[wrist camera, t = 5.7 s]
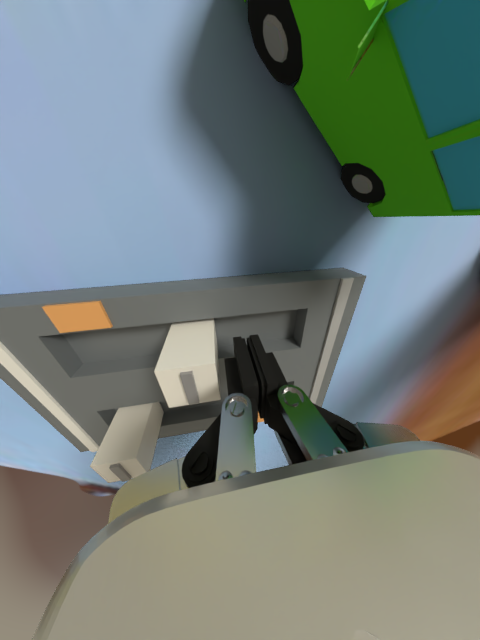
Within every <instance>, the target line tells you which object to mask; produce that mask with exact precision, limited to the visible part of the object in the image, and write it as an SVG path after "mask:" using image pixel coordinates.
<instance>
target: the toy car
mask: <svg viewBox="0 0 480 640" xmlns="http://www.w3.org/2000/svg"><path fill="white" fill-rule="evenodd" d="M244 2H246V0H244ZM248 22H249V26H250V29H251V33H252V37H253V41H254V45H255V48H256V50H257V52H258V54H259V56H260V58H261V59H262V61H263V63H264V64H265V66H266V67H267V69H268V70H269V72H270V73H271V74H272V76H273V77H274V78H275V79H276V80H277V81H279V82H281V83H284V84H287V85H290V84H292V83H293V82H295V81H296V80H297V79H299V77H300V79H299V80H298V82H297V83H296V85H295V87H294V90H295V91H296V93H297V95H298V97H299V98H300V100H301V102H302V103H303V105H304V107H305V108H306V110H307V111H308V113H309V115H310V116H311V118H312V119H313V121H314V123H315V124H316V126H317V127H318V129H319V130H320V132H321V134H322V135H323V137H324V138H325V140H326V142H327V143H328V145H329V146H330V148H331V150H332V151H333V153H334V154H335V156H336V158H337V159H338V161H339V162H340V164H341V166H343V165H344V164H345V163H346V165H345V166H344V167H343V168H342V173H341V180H342V182H343V184H344V186H345V187H346V189H347V190H348V192H349V193H350V194H351V195H352V196H353V197H354V198H356V199H358V200H360V201H362V202H366V203H370V204H369V205H368V206H367V207H368V209H369V210H370V212H371V213H372V215H373V217H398V216H464V215H480V0H248Z"/></svg>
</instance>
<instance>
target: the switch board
mask: <svg viewBox="0 0 480 640" xmlns="http://www.w3.org/2000/svg"><path fill="white" fill-rule="evenodd" d="M365 278H366V276H365V275H362V274H359V273H356V272H354V271H351V270H348V269H345V268H332V269H320V270H307V271H295V272H282V273H269V274H257V275H244V276H232V277H219V278H207V279H194V280H181V281H169V282H156V283H144V284H131V285H118V286H106V287H93V288H81V289H68V290H56V291H43V292H30V293H18V294H5V295H0V378H1V379H2V380H3V381H4V382H5V383H6V384H7V385H9V386H10V387H11V388H12V389H13V390H14V391H15V392H16V393H17V394H18V395H19V396H21V397H22V398H23V399H24V400H25V401H26V402H27V403H28V404H29V405H30V406H31V407H33V408H34V409H35V410H36V411H37V412H38V413H39V414H40V415H41V416H42V417H43V418H45V419H46V420H47V421H48V422H49V423H50V424H51V425H52V426H53V427H54V428H55V429H57V430H58V431H59V432H60V433H61V434H62V435H63V436H64V437H65V438H66V439H67V440H69V441H70V442H71V443H72V444H73V445H74V446H75V447H76V448H77V449H78V450H79V451H81V452H84V451H89V450H90V451H91V452H95V451H98V449H99V447H100V445H101V443H102V441H103V439H104V437H105V435H106V433H107V431H108V428H109V426H110V424H111V422H112V420H113V418H114V416H115V414H116V412H117V410H118V408H122V407H128V406H135V405H141V404H148V403H155V402H159V403H160V405H161V407H162V409H163V412H164V414H163V418H162V422H161V427H160V431H159V435H158V438H163V437H169V436H175V435H180V434H186V433H192V432H198V431H203V430H207V429H208V428H209V427H210V425H211V424H212V423H213V422H214V421H215V419H216V418H217V417H218V416H219V415H220V413H221V412H222V404H223V401H224V400H225V398H226V397H228V389H227V380H226V371H225V362H224V359H225V358H233V357H234V345H233V337H240V336H241V337H242V338H245V341H246V344H247V338H249V336H250V335H256V334H258V336H259V338H260V340H261V343H262V345H263V347H264V350H265V352H266V353H269V352H272V353H273V354H274V356H275V358H276V360H277V362H278V364H279V366H280V369H281V371H282V373H283V375H284V377H285V379H286V381H287V383H288V385H295V386H297V387H299V388H301V389H302V390H303V391H304V392H305V394H306V395H307V396H308V398H309V399H310V400H311V402H312V403H314V404H316V405H318V406H320V407H322V404H323V401H324V398H325V395H326V392H327V389H328V386H329V383H330V381H331V378H332V375H333V372H334V369H335V366H336V363H337V360H338V357H339V354H340V351H341V348H342V346H343V343H344V340H345V337H346V334H347V331H348V328H349V325H350V322H351V319H352V316H353V313H354V311H355V308H356V305H357V302H358V299H359V296H360V293H361V290H362V287H363V284H364V281H365ZM211 318H214V323H215V330H216V338H217V345H218V363H219V380H220V397H221V400H216V401H210V402H203V403H197V404H191V405H184V406H178V407H172V408H169V406H168V404H167V402H166V399H165V397H164V394H163V392H162V389H161V387H160V385H159V382H158V380H157V377H156V375H155V373H154V370H155V368H156V365H157V362H158V360H159V357H160V354H161V351H162V349H163V346H164V343H165V341H166V338H167V335H168V332H169V330H170V327H171V324H172V323H173V322H182V321H192V320H201V319H211ZM262 421H264V419H263V418H262V419H260V416H259V412H258V422H262Z"/></svg>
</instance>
